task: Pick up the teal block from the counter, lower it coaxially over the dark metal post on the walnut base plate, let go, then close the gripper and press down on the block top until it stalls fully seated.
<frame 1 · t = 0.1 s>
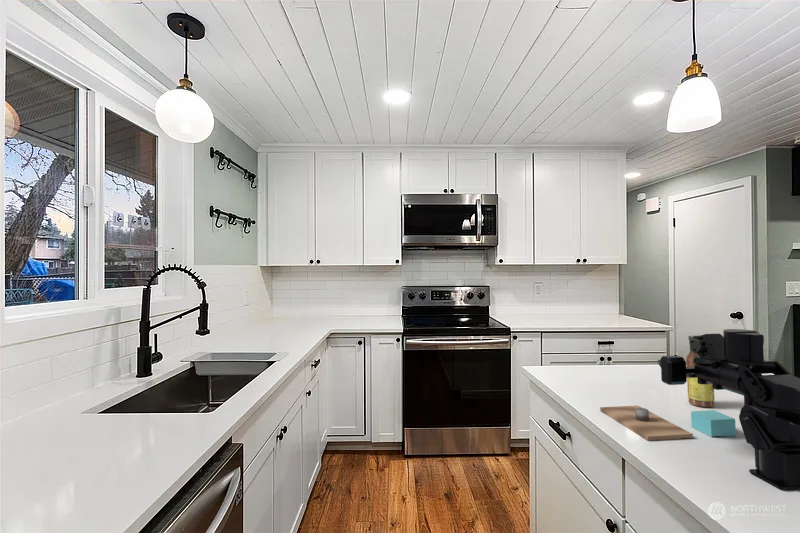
hand: (676, 361, 100), 17 cm above the counter, tool horizontal, fingers open, 9 cm apart
sauce bottle: (700, 405, 116), on the counter
teal block: (713, 431, 97), on the counter
post base: (642, 423, 103), on the counter
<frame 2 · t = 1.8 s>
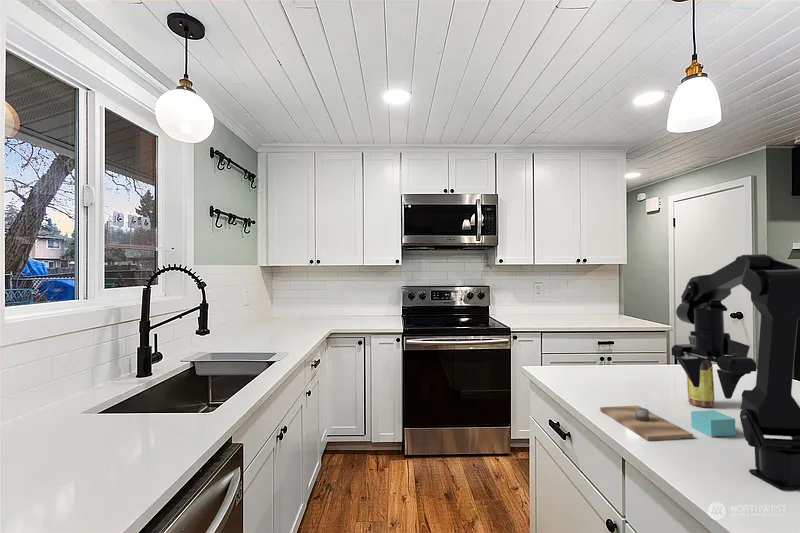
hand: (711, 392, 97), 9 cm above the counter, tool pointing down, fingers open, 9 cm apart
nothing on the counter moved.
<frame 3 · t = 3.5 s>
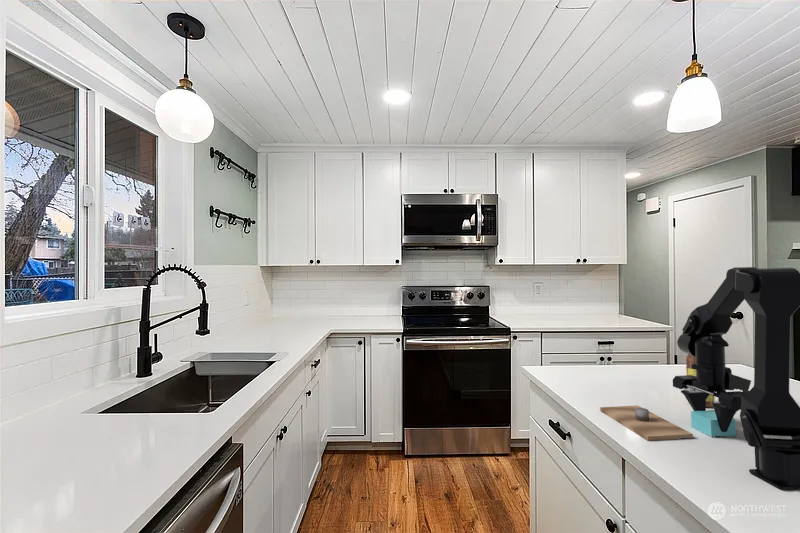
hand: (712, 426, 97), 1 cm above the counter, tool pointing down, fingers closed on teal block, 6 cm apart
teal block: (713, 431, 97), on the counter, touching gripper
everything else where it was.
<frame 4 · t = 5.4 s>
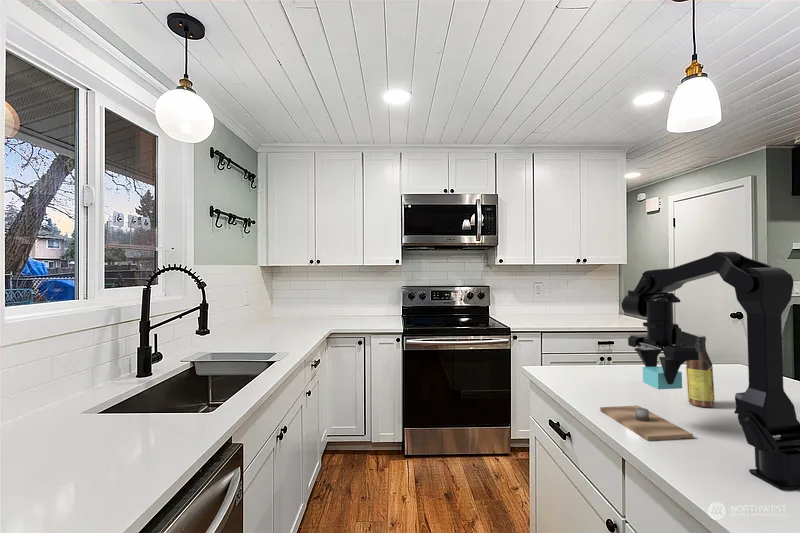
hand: (661, 380, 102), 11 cm above the counter, tool pointing down, fingers closed on teal block, 6 cm apart
teal block: (662, 385, 102), point 10 cm above the counter, touching gripper
everything else where it was.
when the fingers open (3 cm above the counter, at t = 7.6 s): teal block drops 1 cm, resting on post base.
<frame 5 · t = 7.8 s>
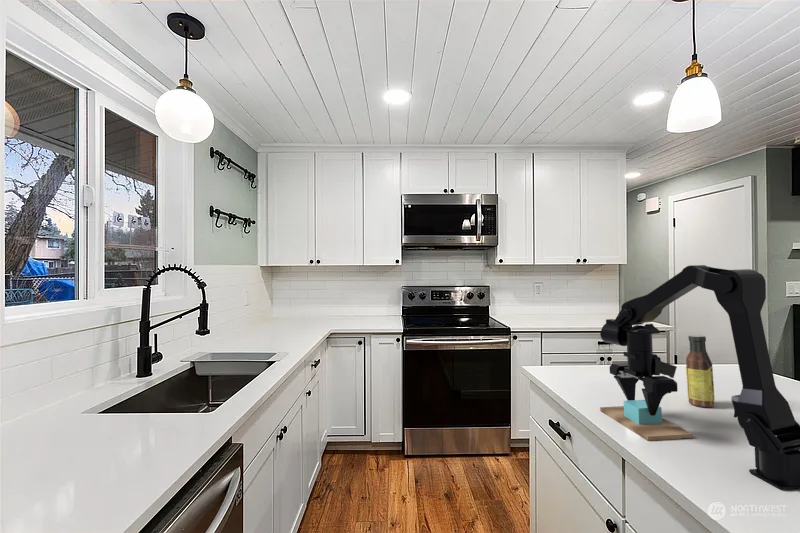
hand: (641, 409, 103), 3 cm above the counter, tool pointing down, fingers open, 8 cm apart
teal block: (642, 419, 103), point 1 cm above the counter, touching post base
everything else where it was.
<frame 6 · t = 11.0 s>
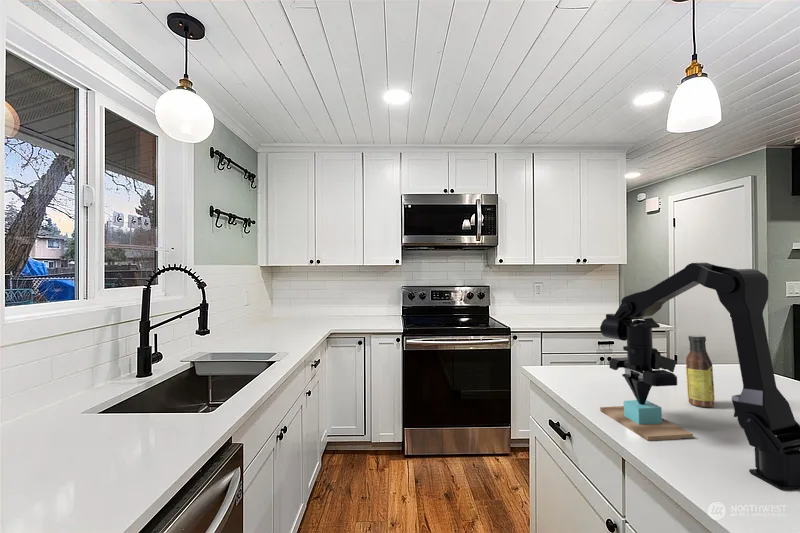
hand: (641, 404, 103), 5 cm above the counter, tool pointing down, fingers closed, pressing on teal block
teal block: (642, 419, 103), point 1 cm above the counter, touching gripper, post base
everything else where it was.
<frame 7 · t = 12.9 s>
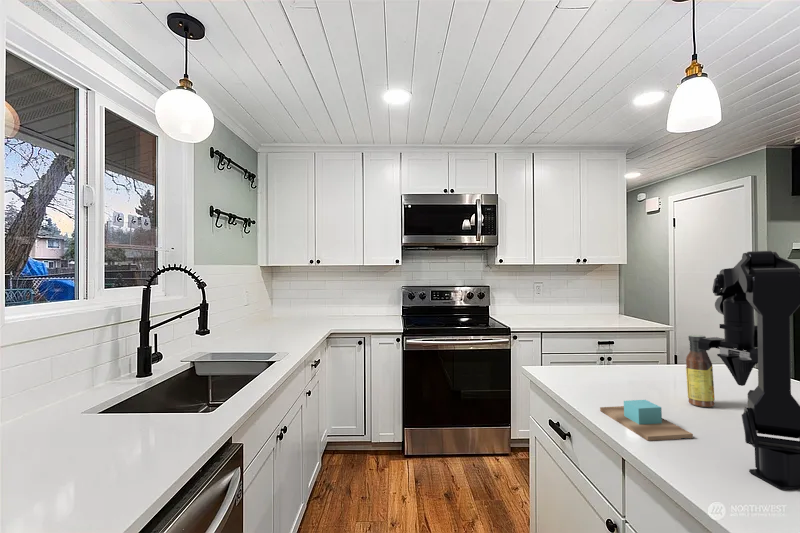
hand: (741, 385, 97), 11 cm above the counter, tool pointing down, fingers closed
teal block: (642, 419, 103), point 1 cm above the counter, touching post base
everything else where it was.
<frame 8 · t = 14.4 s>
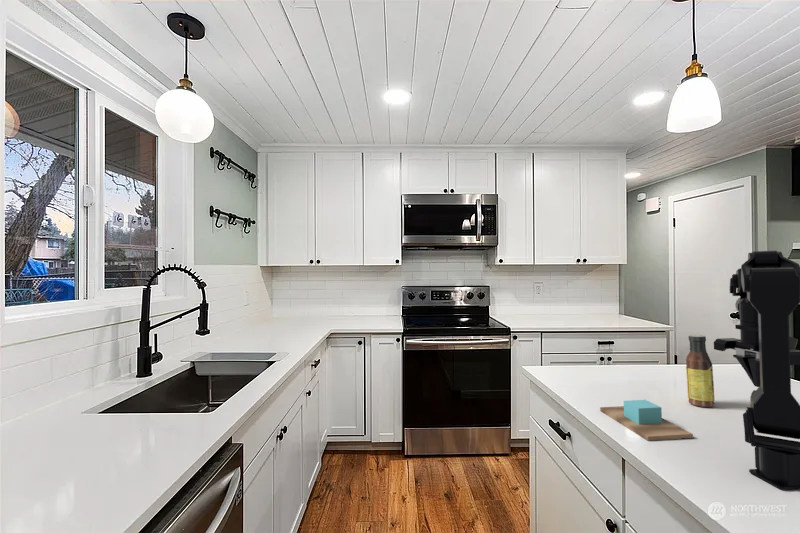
hand: (758, 386, 96), 11 cm above the counter, tool pointing down, fingers closed
nothing on the counter moved.
at the end: teal block 0.1 cm from the post base (horizontally); teal block point 1.0 cm above the counter; teal block tilted 0° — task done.
